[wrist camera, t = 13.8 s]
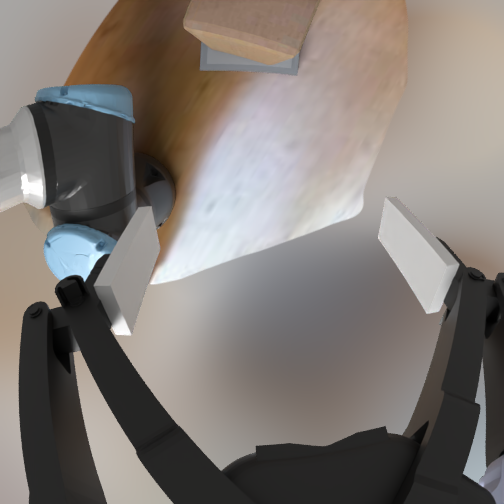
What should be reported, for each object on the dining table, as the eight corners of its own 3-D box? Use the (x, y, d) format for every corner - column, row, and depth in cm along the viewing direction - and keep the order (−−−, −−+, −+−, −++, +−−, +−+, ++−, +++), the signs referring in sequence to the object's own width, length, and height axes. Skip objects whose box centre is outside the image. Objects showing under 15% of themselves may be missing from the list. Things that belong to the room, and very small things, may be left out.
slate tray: (202, 70, 39) (199, 70, 36) (207, -9, 31) (205, -14, 28) (293, 75, 40) (297, 75, 37) (300, -3, 32) (304, -8, 29)
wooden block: (228, -9, 29) (217, -65, 13) (296, 10, 31) (335, -32, 15) (206, 48, 34) (176, 29, 18) (273, 67, 36) (297, 61, 20)
